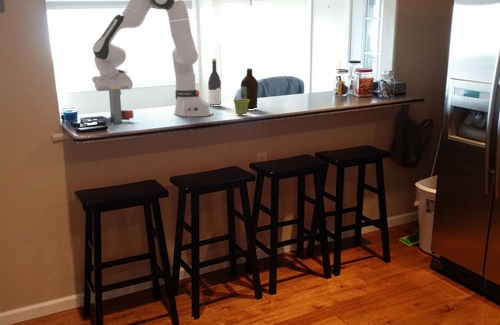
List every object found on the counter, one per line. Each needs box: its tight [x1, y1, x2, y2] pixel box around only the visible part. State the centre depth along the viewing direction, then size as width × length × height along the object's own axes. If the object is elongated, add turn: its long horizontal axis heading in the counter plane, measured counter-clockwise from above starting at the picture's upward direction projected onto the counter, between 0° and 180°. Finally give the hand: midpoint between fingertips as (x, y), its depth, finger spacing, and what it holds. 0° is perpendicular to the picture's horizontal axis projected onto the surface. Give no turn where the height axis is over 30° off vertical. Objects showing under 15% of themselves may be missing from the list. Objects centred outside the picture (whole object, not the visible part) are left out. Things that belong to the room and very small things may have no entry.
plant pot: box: [233, 98, 250, 116], centre depth 282 cm, size 9×9×9 cm
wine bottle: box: [207, 58, 222, 105], centre depth 316 cm, size 8×8×30 cm
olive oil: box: [240, 68, 259, 109], centre depth 300 cm, size 11×11×25 cm
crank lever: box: [108, 109, 134, 121], centre depth 260 cm, size 13×4×5 cm, turn 86°
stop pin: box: [108, 86, 123, 125], centre depth 253 cm, size 4×4×19 cm
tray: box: [80, 115, 112, 125], centre depth 256 cm, size 12×12×2 cm
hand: (118, 94), depth 263 cm, fingers closed
